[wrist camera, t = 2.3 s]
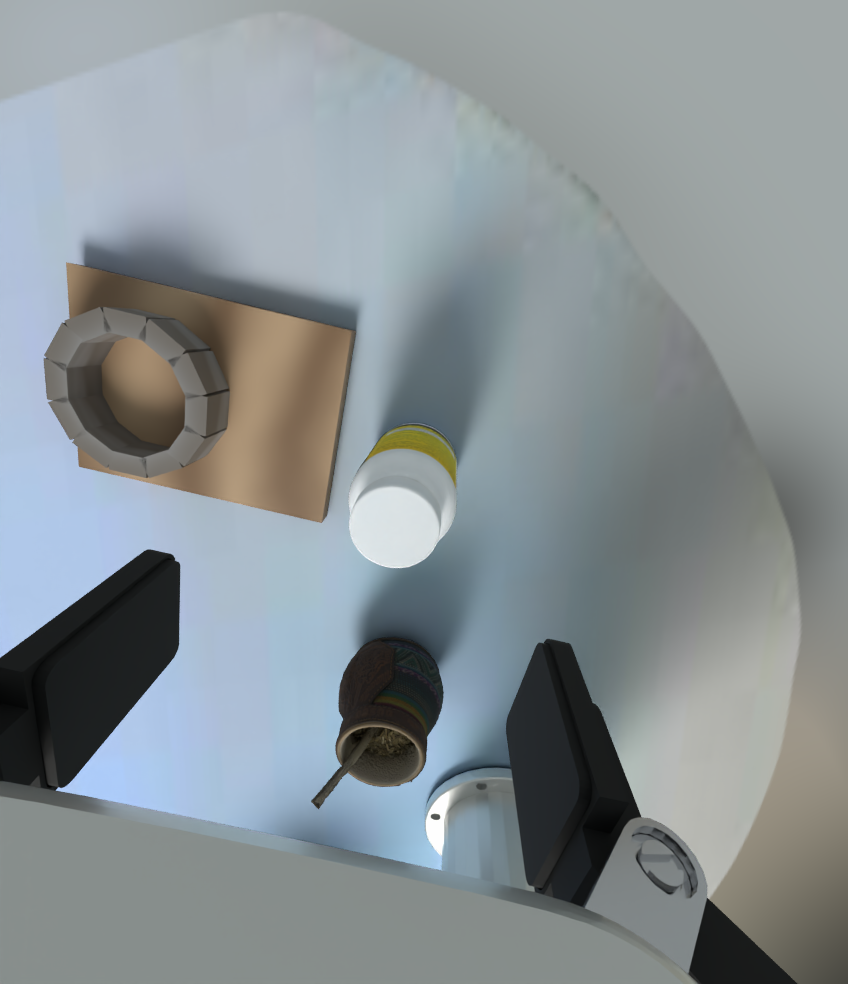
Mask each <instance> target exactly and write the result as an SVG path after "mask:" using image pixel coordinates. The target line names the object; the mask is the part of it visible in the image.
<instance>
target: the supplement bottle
mask: <svg viewBox="0 0 848 984" xmlns="http://www.w3.org/2000/svg"><path fill="white" fill-rule="evenodd" d="M456 507H457V459H456V454H455V451H454V449H453V447H452V445H451V443H450V442H449V440H448V439H447V438H446V437H445V436H444V435H443V434H442V433H441V432H440V431H438V430H437V429H435V428H433V427H431V426H428V425H425V424H421V423H407V424H402V425H399V426H396V427H394V428H392V429H391V430H389V431H388V432H386V433H385V434H384V435H383V436H382V437H381V438H380V440H379V441H378V442H377V444H376V445H375V447H374V448H373V449H372V451H371V452H370V454H369V455H368V457H367V458H366V460H365V461H364V462H363V464H362V465H361V466H360V468H359V469H358V471H357V473H356V475H355V477H354V479H353V481H352V483H351V487H350V491H349V509H350V513H351V514H350V518H349V530H350V535H351V538H352V540H353V542H354V544H355V546H356V547H357V549H358V550H359V551H360V552H361V553H362V555H364V556H365V557H366V558H367V559H369V560H370V561H372V562H374V563H376V564H378V565H381V566H385V567H389V568H405V567H410V566H413V565H415V564H417V563H419V562H421V561H423V560H424V559H425V558H427V557H428V556H429V555H430V554H431V552H432V551H433V550H434V548H435V546H436V544H437V542H438V541H439V540H440V539H441V538H442V537H443V536H444V535H445V534H446V533H447V532H448V530H449V529H450V527H451V525H452V523H453V520H454V517H455V513H456Z"/></svg>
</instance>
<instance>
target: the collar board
mask: <svg viewBox="0 0 848 984" xmlns="http://www.w3.org/2000/svg"><path fill="white" fill-rule="evenodd" d="M66 267H67V283H68V299H69V315H70V319H68V320H65V323H62V324H61V326H60V327H59V329H58V331H57V333H56V335H55V337H54V338H53V340H52V342H51V344H50V346H49V348H48V349H47V351H46V353H45V355H44V356H46V357H47V358H44V369H45V381H46V393H47V399H48V400H53V401H51V402H48V403H49V405H50V406H51V408H52V410H53V412H54V413H55V415H56V417H57V418H58V420H59V422H60V424H61V425H62V427H63V429H64V430H65V432H66V434H67V436H68V437H69V439H70V440H71V439H74V441H73V442H72V443H74V444H75V445H76V446H78V460H79V467H83V468H87V469H92V470H96V471H100V472H105V473H109V474H113V475H118V476H122V477H126V478H131V479H135V480H139V481H143V482H148V483H152V484H156V485H161V486H165V487H169V488H174V489H178V490H182V491H187V492H191V493H195V494H200V495H204V496H208V497H212V498H217V499H221V500H225V501H230V502H234V503H238V504H243V505H247V506H251V507H256V508H260V509H264V510H268V511H273V512H277V513H281V514H286V515H290V516H294V517H299V518H303V519H307V520H312V521H316V522H320V523H322V522H323V520H324V519H325V517H326V516H327V511H328V505H329V498H330V492H331V486H332V480H333V473H334V467H335V461H336V454H337V448H338V442H339V436H340V429H341V423H342V417H343V410H344V404H345V398H346V391H347V385H348V379H349V373H350V366H351V360H352V354H353V347H354V341H355V335H356V331H353V330H349V329H345V328H341V327H337V326H333V325H329V324H324V323H320V322H316V321H312V320H308V319H304V318H299V317H295V316H291V315H287V314H283V313H279V312H274V311H270V310H266V309H262V308H258V307H254V306H250V305H245V304H241V303H237V302H233V301H229V300H225V299H220V298H216V297H212V296H208V295H204V294H200V293H195V292H191V291H187V290H183V289H179V288H175V287H171V286H166V285H162V284H158V283H154V282H150V281H146V280H141V279H137V278H133V277H129V276H125V275H121V274H117V273H112V272H108V271H104V270H100V269H96V268H92V267H87V266H83V265H78V264H72V263H66Z"/></svg>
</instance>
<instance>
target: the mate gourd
mask: <svg viewBox="0 0 848 984" xmlns="http://www.w3.org/2000/svg"><path fill="white" fill-rule="evenodd" d="M443 693H444V692H443V686H442V681H441V677H440V674H439V669H438V667H437V664H436V662H435V660H434V659H433V658H432V656H431V655H430V653H429V652H427V650H426V649H424V648H423V647H422V646H420V645H419V644H417V643H415V642H413V641H410V640H407V639H403V638H395V637H391V638H379V639H376V640H373V641H370V642H368V643H367V644H365V645H364V646H362V648H360V650H359V651H358V652H357V653H356V655H355V656H354V657H353V658H352V659H351V661H350V662H349V664H348V666H347V668H346V670H345V672H344V674H343V677H342V680H341V684H340V690H339V703H338V704H339V712H340V714H341V716H342V717H343V721H342V724H341V727H340V732H339V736H338V738H337V741H336V745H335V746H336V755H337V758H338V760H339V762H340V764H341V765H342V767H340V768H339V769H338V770H337V771H336V772H335V774H334V775H333V776H332V778H331V779H330V780H329V781H328V782H327V784H326V785H325V786H324V787H323V788H322V789H321V790H320V792H319V793H318V794H317V795H316V796H315V798H314V799H313V800H312V801H311V802H312V803H313V804H314V805H315V806H316V807H317V808H318V809H319V808H320V806H321V805H322V804H323V802H324V800H325V798H327V796H328V795H329V794H330V793H331V792H332V791H333V789H334V788H335V786H337V784H338V782H339V781H340V780H341V779H342V777H343V776H344V775H345V774H347V772H348V773H349V774H350V775H352V776H353V777H354V778H356V779H358V780H359V781H362V782H364V783H366V784H369V785H373V786H379V787H390V786H399V785H401V784H403V783H406V782H409V781H411V782H412V780H413V779H414V778H416V777H417V776H418V775H419V773H420V772H421V771H422V770H423V768H424V765H425V762H426V751H427V736H428V735H429V733H430V732H431V730H432V729H433V727H434V726H435V724H436V722H437V720H438V717H439V714H440V712H441V708H442V703H443Z"/></svg>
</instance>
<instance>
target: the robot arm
mask: <svg viewBox="0 0 848 984" xmlns="http://www.w3.org/2000/svg"><path fill="white" fill-rule="evenodd" d="M179 608H180V564H179V562H177V561H175V558H174V556H173V555H172V554H168V553H164V552H159V551H155V550H146V551H144V552H143V553H141V554H140V555H138V556H137V557H136V558H134V559H133V560H132V561H130V562H129V563H128V564H126V565H125V566H124V567H122V568H121V569H120V570H118V571H117V572H116V573H114V574H113V575H112V576H110V577H109V578H107V579H106V580H105V581H103V582H102V583H101V584H99V585H98V586H97V587H95V588H94V589H93V590H91V591H90V592H89V593H87V594H86V595H85V596H83V597H82V598H80V599H79V600H78V601H76V602H75V603H74V604H72V605H71V606H70V607H68V608H67V609H66V610H64V611H63V612H62V613H60V614H59V615H58V616H56V617H55V618H54V619H52V620H51V621H49V622H48V623H47V624H45V625H44V626H43V627H41V628H40V629H39V630H37V631H36V632H35V633H33V634H32V635H31V636H29V637H28V638H27V639H25V640H24V641H23V642H21V643H20V644H18V645H17V646H16V647H14V648H13V649H12V650H10V651H9V652H8V653H6V654H5V655H4V656H2V657H1V658H0V984H797V983H796V982H795V981H794V980H793V979H792V978H791V977H790V976H789V975H788V974H787V973H786V972H785V971H784V970H782V969H781V968H780V967H779V966H778V965H777V964H776V963H775V962H774V961H773V960H772V959H771V958H770V957H769V956H768V955H766V953H765V952H764V951H762V950H761V949H760V948H759V947H758V946H757V945H756V944H755V943H754V942H753V941H752V940H751V939H750V938H749V937H748V936H747V935H746V934H745V933H744V932H743V931H741V930H740V929H739V928H738V927H737V926H736V925H735V924H734V923H733V922H732V921H731V920H730V919H729V918H728V917H727V916H726V915H725V914H724V913H723V912H722V911H720V910H719V909H718V908H717V907H716V906H715V905H714V904H713V903H712V902H711V901H710V900H709V899H708V898H707V883H706V879H705V875H704V872H703V870H702V868H701V866H700V864H699V862H698V860H697V858H696V857H695V855H694V854H693V853H692V851H691V850H690V849H689V847H688V846H687V845H686V843H685V842H684V841H683V840H682V839H681V838H680V837H678V836H677V835H676V834H675V833H674V832H673V831H672V830H670V829H669V828H667V827H666V826H664V825H663V824H661V823H659V822H657V821H654V820H652V819H650V818H642V817H641V815H640V812H639V810H638V807H637V804H636V802H635V799H634V797H633V794H632V791H631V789H630V786H629V784H628V781H627V778H626V776H625V773H624V771H623V768H622V765H621V763H620V760H619V758H618V755H617V752H616V750H615V747H614V745H613V742H612V739H611V737H610V734H609V732H608V729H607V726H606V724H605V721H604V718H603V716H602V713H601V711H600V709H599V708H598V706H596V705H595V704H593V703H592V700H591V698H590V695H589V692H588V689H587V687H586V684H585V681H584V679H583V676H582V673H581V671H580V668H579V665H578V662H577V660H576V657H575V654H574V652H573V649H572V647H571V645H570V644H569V643H565V642H560V641H556V640H551V639H546V640H545V642H544V644H543V643H538V644H537V646H536V648H535V650H534V653H533V655H532V658H531V660H530V663H529V665H528V668H527V670H526V673H525V675H524V678H523V680H522V683H521V685H520V688H519V690H518V693H517V695H516V698H515V700H514V702H513V705H512V707H511V710H510V712H509V715H508V718H507V723H506V734H507V741H508V749H509V756H510V764H511V769H508V768H481V769H476V770H471V771H467V772H464V773H462V774H459V775H456V776H454V777H453V778H451V779H449V780H447V781H445V782H444V783H443V784H442V785H441V786H439V787H438V788H437V789H436V790H435V792H434V793H433V794H432V796H431V797H430V799H429V801H428V804H427V806H426V814H425V831H426V834H427V838H428V840H429V841H430V843H431V845H432V846H433V848H434V849H435V850H436V851H437V852H438V853H439V854H440V855H441V856H442V870H437V869H432V868H428V867H423V866H418V865H414V864H409V863H404V862H400V861H395V860H390V859H386V858H381V857H377V856H372V855H367V854H363V853H358V852H353V851H349V850H344V849H339V848H335V847H330V846H325V845H320V844H315V843H311V842H306V841H301V840H296V839H292V838H287V837H282V836H277V835H273V834H268V833H263V832H258V831H253V830H249V829H244V828H239V827H234V826H229V825H225V824H220V823H215V822H210V821H205V820H200V819H196V818H191V817H186V816H181V815H176V814H171V813H166V812H161V811H156V810H151V809H146V808H141V807H136V806H131V805H127V804H122V803H117V802H112V801H107V800H102V799H97V798H92V797H87V796H82V795H76V794H71V793H65V792H60V791H55V790H56V789H57V788H58V787H60V788H63V787H65V786H66V785H68V784H69V783H70V782H71V781H72V780H73V779H74V777H75V776H76V775H77V774H78V773H79V771H80V770H81V769H82V768H83V767H84V765H85V764H86V763H87V762H88V761H89V759H90V758H91V757H92V756H93V755H94V753H95V752H96V751H97V750H98V749H99V747H100V746H101V745H102V744H103V743H104V741H105V740H106V739H107V738H108V737H109V735H110V734H111V733H112V732H113V730H114V729H115V728H116V727H117V726H118V724H119V723H120V722H121V721H122V720H123V718H124V717H125V716H126V715H127V714H128V712H129V711H130V710H131V709H132V708H133V706H134V705H135V704H136V703H137V702H138V700H139V699H140V698H141V697H142V696H143V694H144V693H145V692H146V691H147V690H148V688H149V687H150V686H151V685H152V684H153V682H154V681H155V680H156V679H157V678H158V676H159V675H160V674H161V673H162V671H163V670H164V669H165V668H166V667H167V665H168V664H169V663H170V662H171V661H172V659H173V658H174V656H175V655H176V652H177V650H178V646H179Z"/></svg>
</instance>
